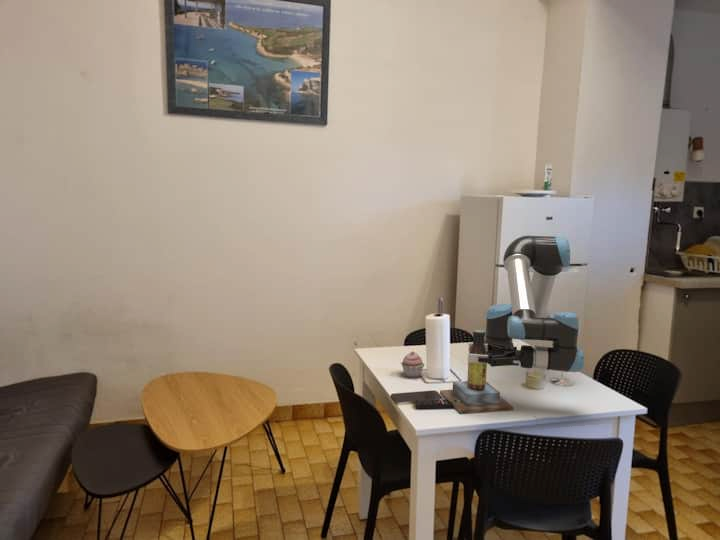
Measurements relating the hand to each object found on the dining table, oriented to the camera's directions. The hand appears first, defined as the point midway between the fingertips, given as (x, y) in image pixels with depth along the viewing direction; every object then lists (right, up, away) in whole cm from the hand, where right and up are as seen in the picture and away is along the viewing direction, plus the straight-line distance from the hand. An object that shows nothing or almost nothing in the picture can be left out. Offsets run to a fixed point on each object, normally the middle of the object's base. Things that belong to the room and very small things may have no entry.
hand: (468, 351), depth 177 cm
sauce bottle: (+3, -13, +1) cm, 13 cm away
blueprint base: (+3, -17, +2) cm, 18 cm away
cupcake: (-17, -14, +27) cm, 34 cm away
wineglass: (+41, -16, +22) cm, 49 cm away
